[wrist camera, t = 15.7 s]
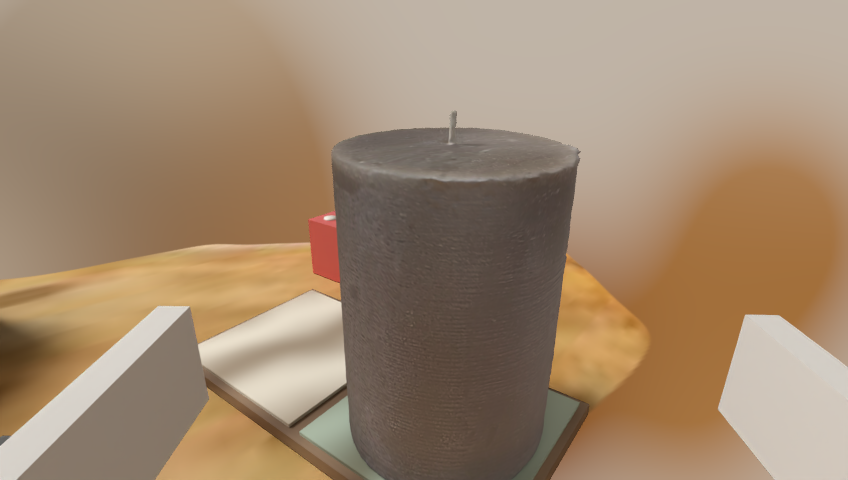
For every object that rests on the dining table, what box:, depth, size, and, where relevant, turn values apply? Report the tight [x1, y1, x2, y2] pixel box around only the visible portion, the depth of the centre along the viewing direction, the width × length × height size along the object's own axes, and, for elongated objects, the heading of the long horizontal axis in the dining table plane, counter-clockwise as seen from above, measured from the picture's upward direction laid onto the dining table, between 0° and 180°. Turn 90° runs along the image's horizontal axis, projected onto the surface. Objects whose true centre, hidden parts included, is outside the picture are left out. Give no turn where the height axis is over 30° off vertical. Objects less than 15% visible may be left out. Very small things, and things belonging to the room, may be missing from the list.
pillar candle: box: [332, 111, 580, 480], centre depth 21 cm, size 10×10×15 cm
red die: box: [308, 211, 340, 283], centre depth 41 cm, size 5×5×5 cm
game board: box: [198, 289, 589, 480], centre depth 27 cm, size 22×11×1 cm, turn 53°
